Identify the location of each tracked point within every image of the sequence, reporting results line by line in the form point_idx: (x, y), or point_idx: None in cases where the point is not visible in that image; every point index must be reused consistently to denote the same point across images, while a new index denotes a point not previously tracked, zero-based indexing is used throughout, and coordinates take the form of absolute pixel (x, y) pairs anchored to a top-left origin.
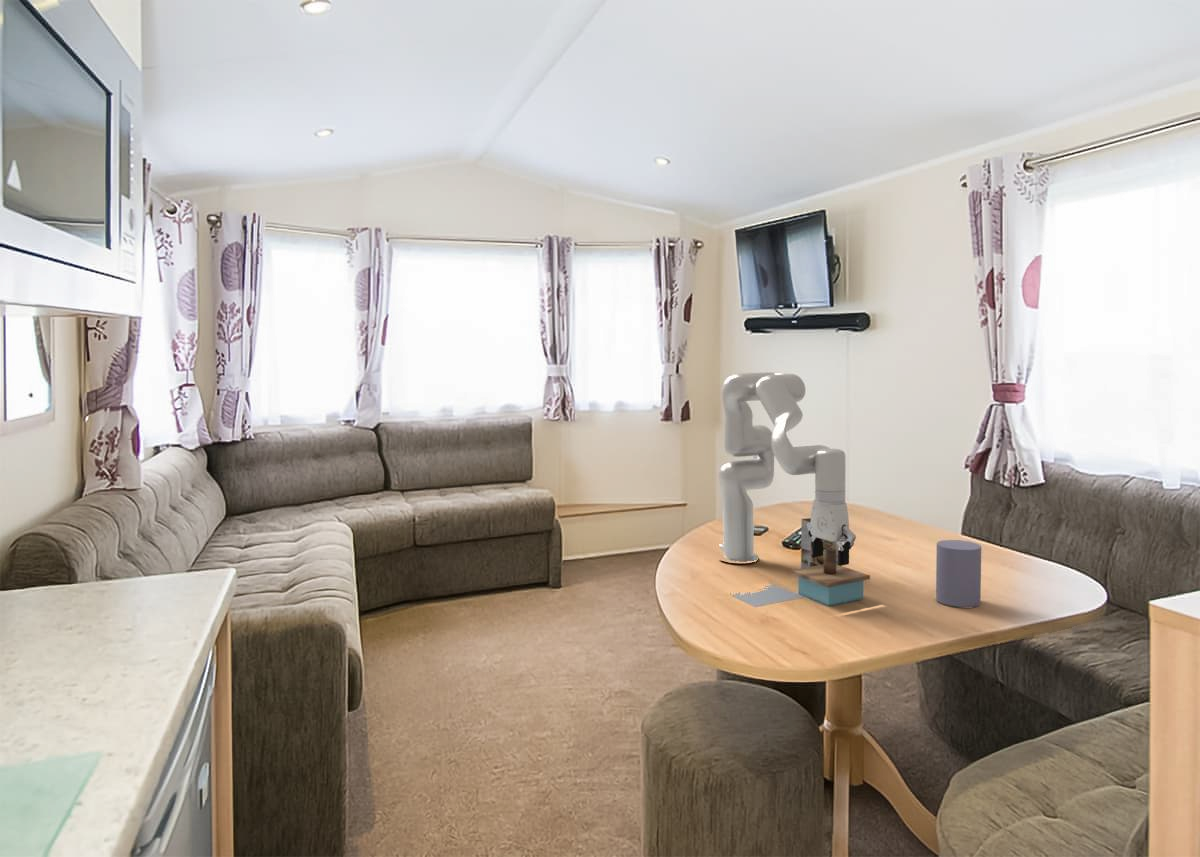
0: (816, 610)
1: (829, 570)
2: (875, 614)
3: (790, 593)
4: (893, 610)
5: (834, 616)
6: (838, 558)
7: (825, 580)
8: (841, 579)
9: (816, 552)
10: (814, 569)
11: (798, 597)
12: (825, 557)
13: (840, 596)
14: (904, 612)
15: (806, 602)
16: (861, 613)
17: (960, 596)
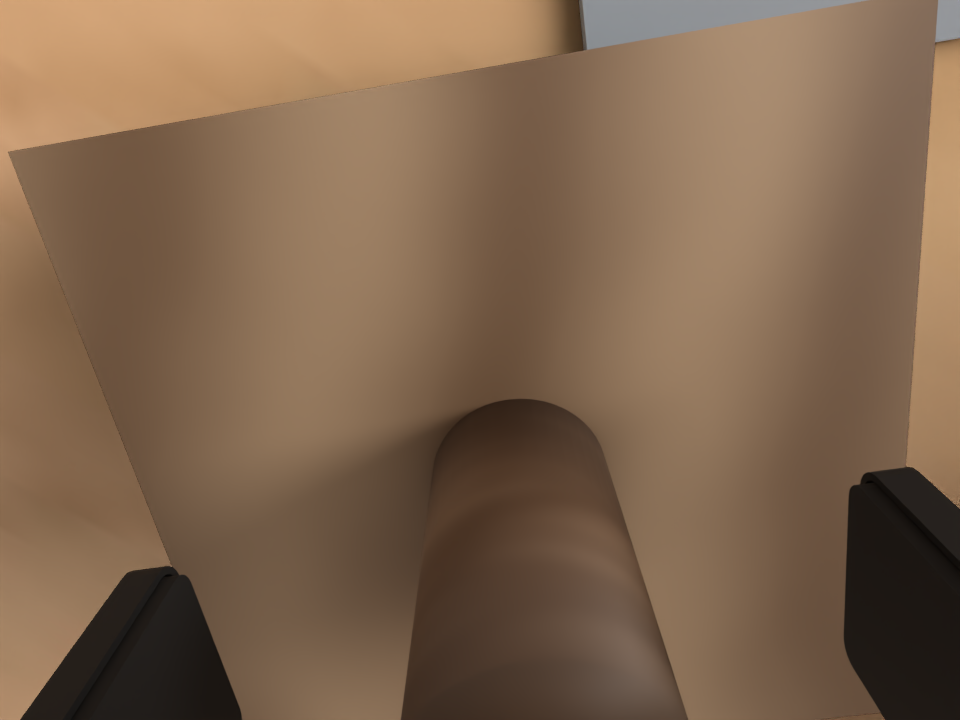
0: (220, 13)
1: (446, 461)
2: (19, 454)
3: (772, 7)
4: (92, 613)
5: (9, 90)
6: (90, 659)
7: (175, 212)
8: (170, 443)
9: (892, 578)
10: (756, 374)
11: (606, 19)
12: (508, 556)
13: None
14: (36, 649)
15: (490, 58)
16: (59, 369)
17: None
